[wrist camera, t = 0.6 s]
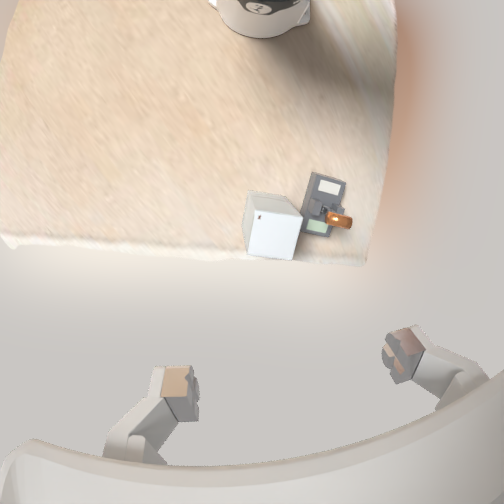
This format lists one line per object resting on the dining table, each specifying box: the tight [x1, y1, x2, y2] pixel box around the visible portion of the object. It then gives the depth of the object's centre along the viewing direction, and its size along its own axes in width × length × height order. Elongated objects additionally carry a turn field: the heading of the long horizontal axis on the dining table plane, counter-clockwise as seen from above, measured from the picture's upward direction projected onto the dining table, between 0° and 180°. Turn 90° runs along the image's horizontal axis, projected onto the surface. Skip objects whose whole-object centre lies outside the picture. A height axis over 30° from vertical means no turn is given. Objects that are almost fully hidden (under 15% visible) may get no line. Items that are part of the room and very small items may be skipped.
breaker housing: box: [300, 172, 346, 237], centre depth 49 cm, size 11×6×6 cm, turn 166°
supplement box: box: [242, 190, 303, 260], centre depth 46 cm, size 7×7×13 cm
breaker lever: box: [320, 205, 352, 229], centre depth 45 cm, size 2×4×8 cm, turn 76°
